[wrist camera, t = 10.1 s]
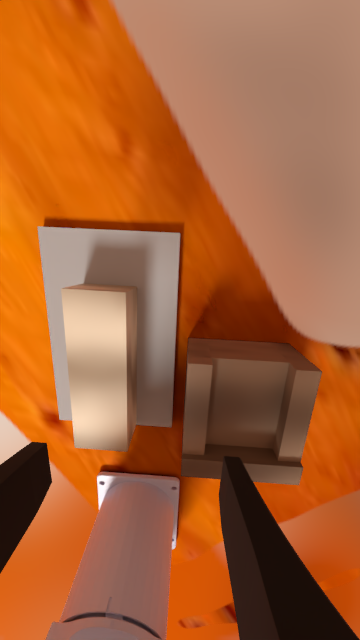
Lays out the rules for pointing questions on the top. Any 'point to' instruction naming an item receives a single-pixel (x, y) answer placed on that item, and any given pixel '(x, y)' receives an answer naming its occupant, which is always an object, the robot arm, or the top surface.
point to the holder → (247, 408)
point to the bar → (102, 363)
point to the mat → (124, 270)
